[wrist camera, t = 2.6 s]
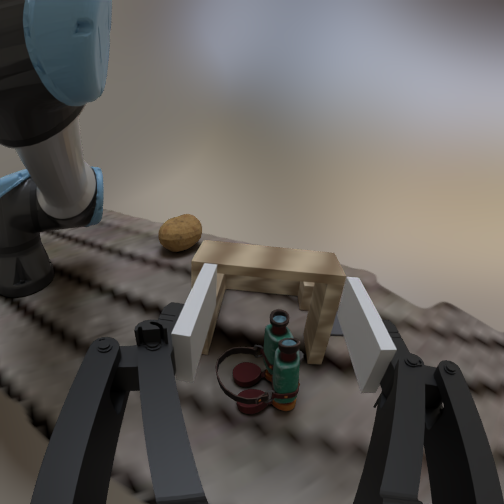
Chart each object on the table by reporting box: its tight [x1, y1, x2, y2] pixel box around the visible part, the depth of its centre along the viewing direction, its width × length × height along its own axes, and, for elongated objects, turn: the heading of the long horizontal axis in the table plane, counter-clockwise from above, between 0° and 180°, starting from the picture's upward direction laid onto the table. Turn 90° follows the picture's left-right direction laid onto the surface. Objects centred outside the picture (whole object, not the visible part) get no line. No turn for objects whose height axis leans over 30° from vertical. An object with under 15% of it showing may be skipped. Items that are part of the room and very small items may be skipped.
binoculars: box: [216, 309, 303, 414], centre depth 31 cm, size 9×11×10 cm
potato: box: [159, 214, 202, 252], centre depth 71 cm, size 10×14×8 cm
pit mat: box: [330, 311, 344, 336], centre depth 48 cm, size 8×7×1 cm
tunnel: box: [192, 240, 346, 364], centre depth 46 cm, size 18×21×14 cm
